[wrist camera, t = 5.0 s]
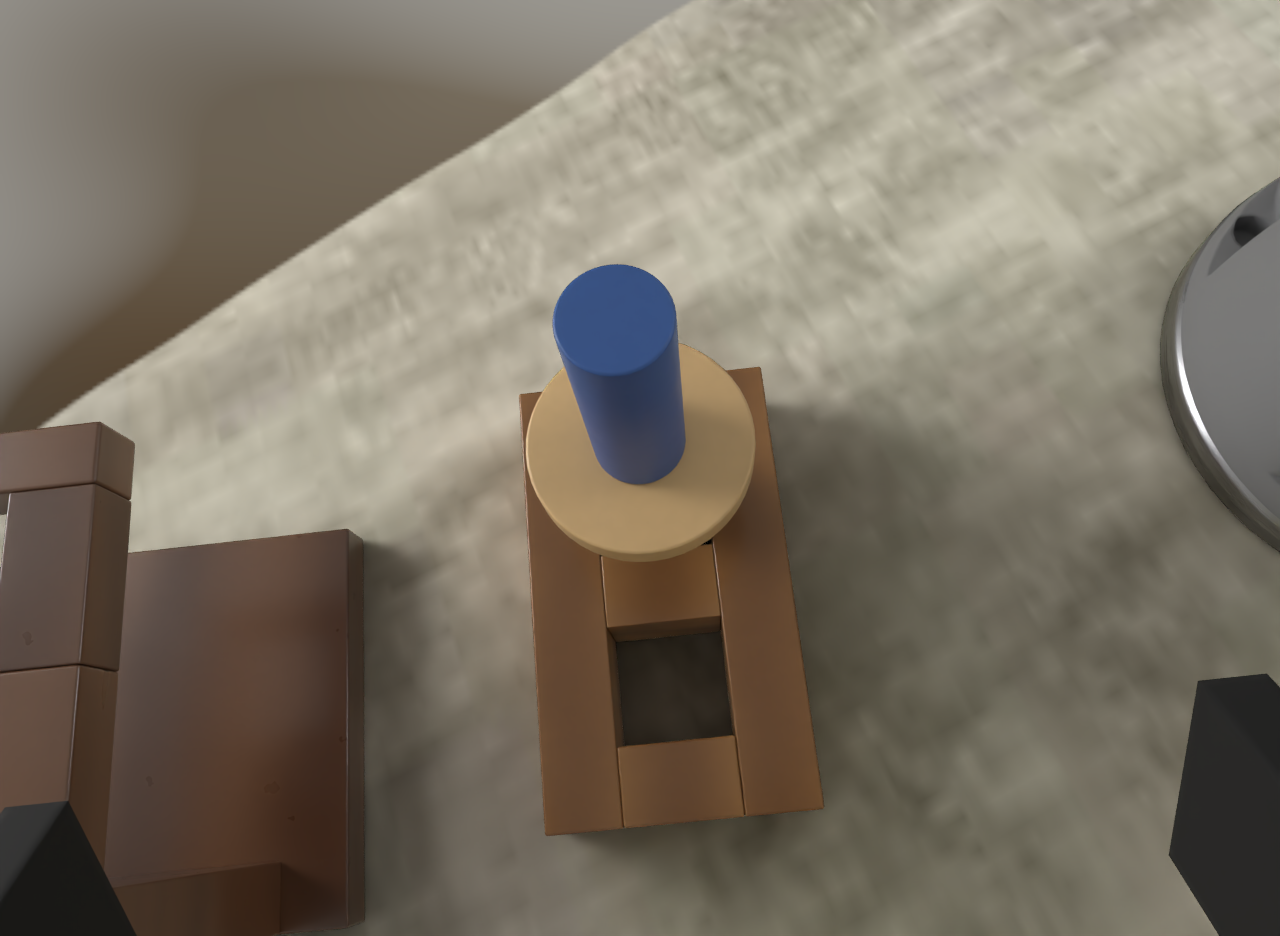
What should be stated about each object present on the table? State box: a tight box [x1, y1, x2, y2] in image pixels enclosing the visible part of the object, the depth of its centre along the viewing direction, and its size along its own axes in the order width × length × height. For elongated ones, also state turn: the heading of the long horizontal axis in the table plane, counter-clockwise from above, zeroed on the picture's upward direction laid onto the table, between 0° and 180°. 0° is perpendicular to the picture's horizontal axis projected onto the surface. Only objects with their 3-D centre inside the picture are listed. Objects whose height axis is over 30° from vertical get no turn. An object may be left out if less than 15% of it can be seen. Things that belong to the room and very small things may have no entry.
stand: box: [0, 422, 365, 936], centre depth 26 cm, size 12×12×12 cm
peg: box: [526, 264, 756, 562], centre depth 26 cm, size 6×6×15 cm
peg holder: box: [519, 367, 824, 836], centre depth 31 cm, size 8×13×3 cm, turn 5°
